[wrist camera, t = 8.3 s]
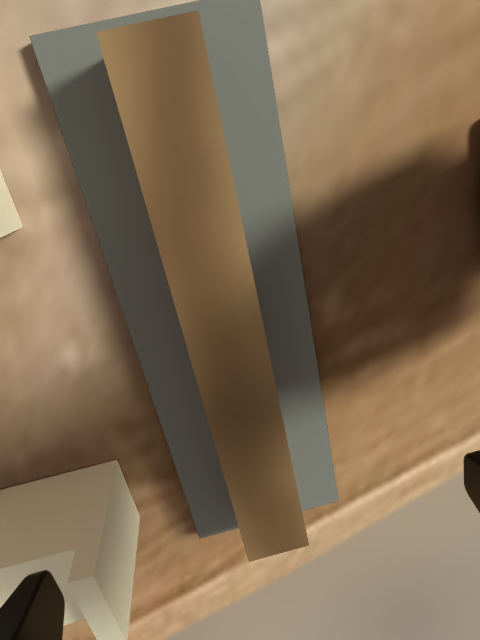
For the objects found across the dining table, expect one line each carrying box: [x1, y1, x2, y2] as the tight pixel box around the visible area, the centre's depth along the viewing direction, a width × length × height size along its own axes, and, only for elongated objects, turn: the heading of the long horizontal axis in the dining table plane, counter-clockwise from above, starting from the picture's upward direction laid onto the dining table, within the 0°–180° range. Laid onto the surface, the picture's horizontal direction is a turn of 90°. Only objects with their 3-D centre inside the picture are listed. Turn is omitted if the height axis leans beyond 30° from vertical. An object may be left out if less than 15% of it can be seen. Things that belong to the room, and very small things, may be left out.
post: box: [0, 460, 140, 640], centre depth 19 cm, size 6×4×6 cm, turn 102°
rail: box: [96, 10, 309, 562], centre depth 18 cm, size 3×22×3 cm, turn 12°
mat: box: [29, 0, 339, 538], centre depth 20 cm, size 8×24×1 cm, turn 12°
